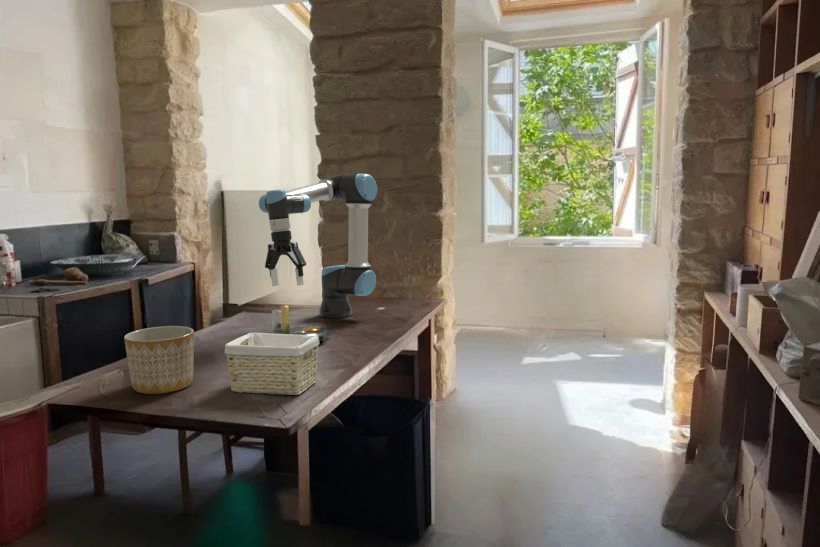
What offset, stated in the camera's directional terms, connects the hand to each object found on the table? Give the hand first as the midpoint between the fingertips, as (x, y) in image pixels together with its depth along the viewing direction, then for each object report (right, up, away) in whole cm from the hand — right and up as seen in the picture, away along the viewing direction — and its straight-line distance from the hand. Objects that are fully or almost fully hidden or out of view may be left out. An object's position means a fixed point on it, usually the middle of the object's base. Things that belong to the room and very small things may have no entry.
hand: (287, 285), depth 240 cm
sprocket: (+5, -20, +1) cm, 21 cm away
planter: (-27, -30, -52) cm, 66 cm away
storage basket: (+7, -30, -54) cm, 62 cm away
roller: (-6, -20, +12) cm, 24 cm away
